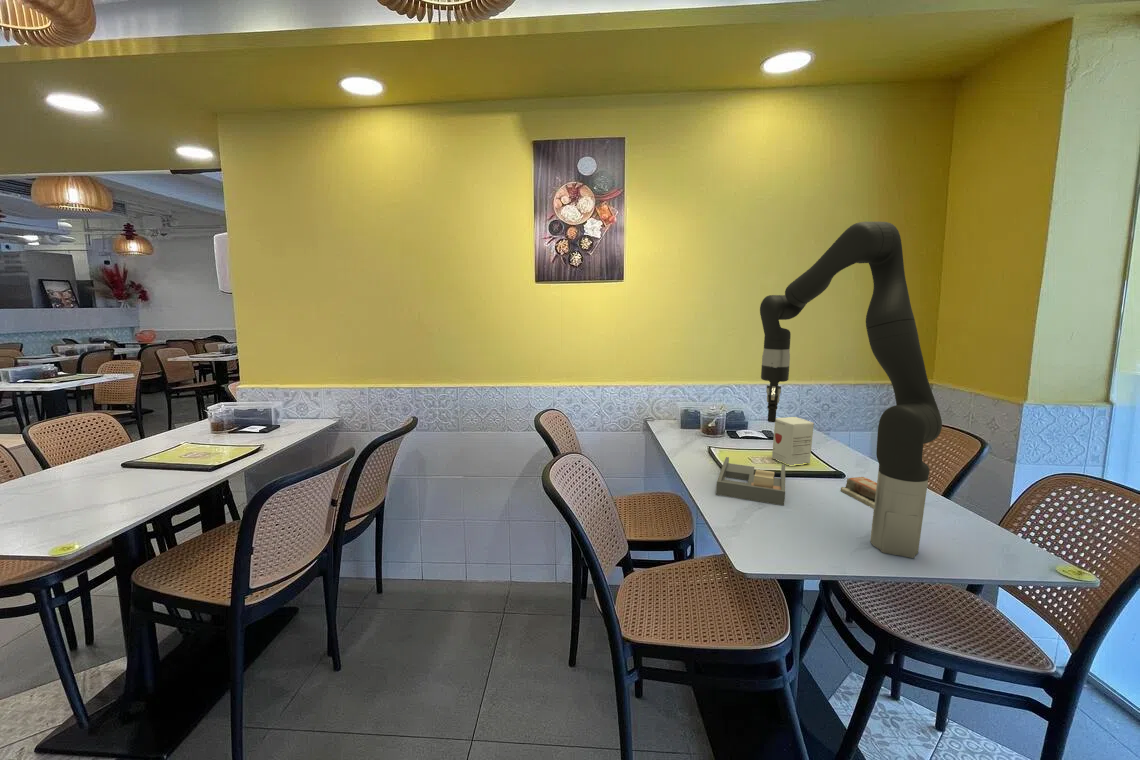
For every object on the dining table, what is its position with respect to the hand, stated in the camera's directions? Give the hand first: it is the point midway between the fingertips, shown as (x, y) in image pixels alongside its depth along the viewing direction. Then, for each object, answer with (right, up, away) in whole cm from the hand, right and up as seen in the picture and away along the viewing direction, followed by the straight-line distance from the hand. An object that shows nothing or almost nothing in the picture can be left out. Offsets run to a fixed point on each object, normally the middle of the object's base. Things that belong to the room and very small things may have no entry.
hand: (771, 421), depth 145 cm
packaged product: (+26, -22, -9) cm, 35 cm away
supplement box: (+17, -16, +24) cm, 33 cm away
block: (-4, -19, -5) cm, 20 cm away
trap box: (-5, -19, +2) cm, 20 cm away
